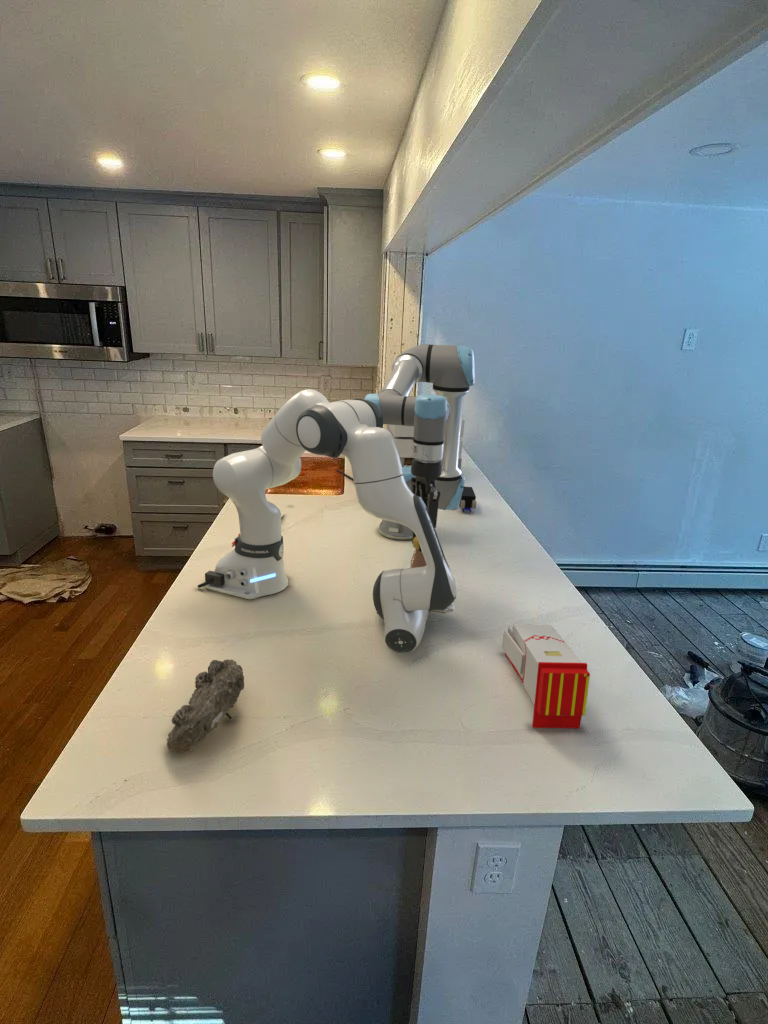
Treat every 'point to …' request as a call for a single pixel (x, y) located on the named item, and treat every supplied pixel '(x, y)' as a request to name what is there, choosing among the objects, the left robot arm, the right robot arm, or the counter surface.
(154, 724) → the counter surface
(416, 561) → the bottle
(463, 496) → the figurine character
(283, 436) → the left robot arm
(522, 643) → the toy
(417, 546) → the cap
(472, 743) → the counter surface
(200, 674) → the fossil
